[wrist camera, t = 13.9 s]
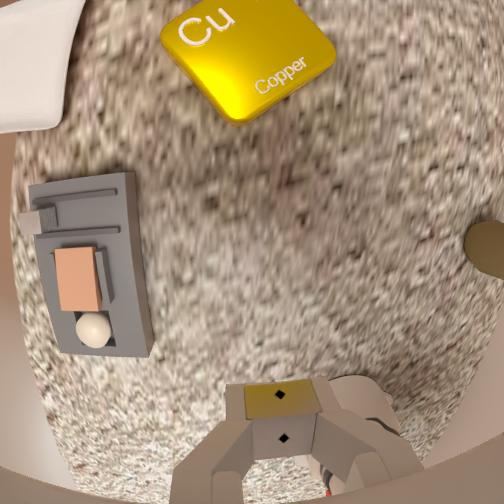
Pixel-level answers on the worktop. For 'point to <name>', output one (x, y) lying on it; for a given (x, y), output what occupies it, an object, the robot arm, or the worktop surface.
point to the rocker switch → (78, 279)
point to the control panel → (97, 258)
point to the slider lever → (37, 221)
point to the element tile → (247, 53)
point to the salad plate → (35, 62)
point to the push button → (94, 328)
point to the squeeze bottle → (486, 247)
